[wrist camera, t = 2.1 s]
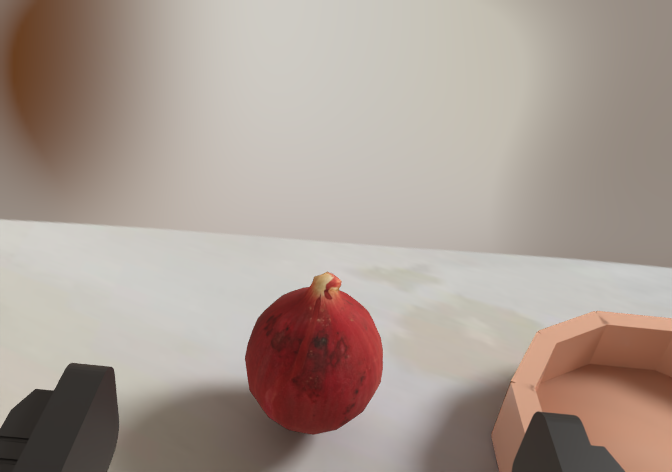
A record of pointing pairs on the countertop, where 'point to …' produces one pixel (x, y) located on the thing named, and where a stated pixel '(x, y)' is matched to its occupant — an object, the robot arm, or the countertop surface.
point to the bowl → (597, 387)
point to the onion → (314, 358)
